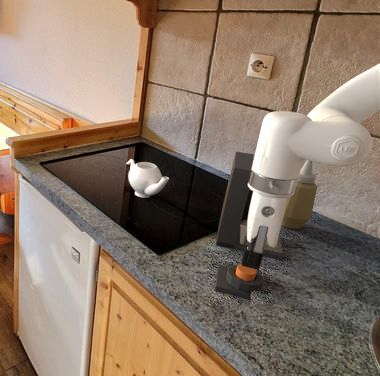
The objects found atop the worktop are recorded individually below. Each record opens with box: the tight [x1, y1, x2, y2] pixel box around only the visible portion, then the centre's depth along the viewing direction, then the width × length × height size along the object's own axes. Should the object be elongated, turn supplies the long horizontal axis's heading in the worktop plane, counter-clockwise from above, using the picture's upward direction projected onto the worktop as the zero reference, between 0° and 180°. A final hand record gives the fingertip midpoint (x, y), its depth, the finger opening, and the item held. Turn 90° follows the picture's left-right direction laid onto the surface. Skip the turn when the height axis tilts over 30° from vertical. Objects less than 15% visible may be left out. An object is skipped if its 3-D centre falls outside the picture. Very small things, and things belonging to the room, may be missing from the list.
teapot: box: [125, 158, 170, 199], centre depth 119 cm, size 10×20×9 cm, turn 21°
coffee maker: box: [215, 151, 284, 261], centre depth 95 cm, size 14×12×20 cm
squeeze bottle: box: [281, 160, 318, 230], centre depth 103 cm, size 8×8×18 cm
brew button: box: [235, 263, 258, 281], centre depth 81 cm, size 4×4×2 cm
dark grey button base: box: [214, 264, 271, 301], centre depth 82 cm, size 10×8×3 cm
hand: (250, 265), depth 80 cm, fingers closed
